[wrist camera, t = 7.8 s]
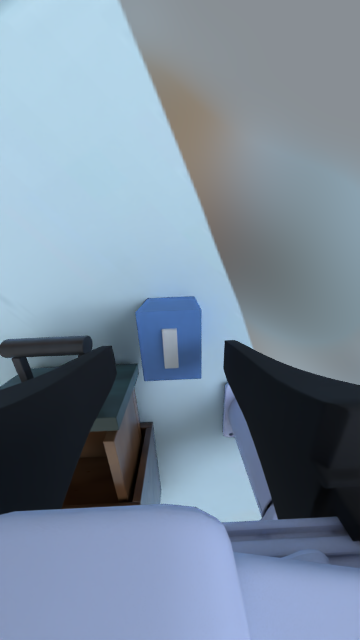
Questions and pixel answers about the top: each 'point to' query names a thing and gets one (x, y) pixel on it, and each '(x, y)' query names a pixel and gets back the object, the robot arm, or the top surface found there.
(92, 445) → the drawer
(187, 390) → the top surface
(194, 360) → the tissue pack
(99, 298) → the top surface
